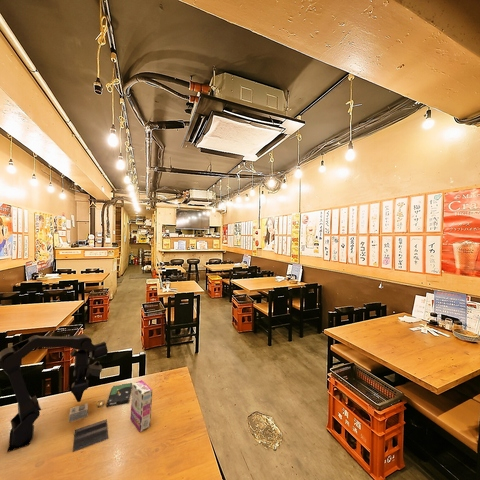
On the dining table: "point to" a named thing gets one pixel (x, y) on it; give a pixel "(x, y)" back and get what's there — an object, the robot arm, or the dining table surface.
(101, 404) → the brass bushing
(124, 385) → the disk drive
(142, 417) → the candy bar box
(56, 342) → the robot arm
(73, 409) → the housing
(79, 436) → the stand
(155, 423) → the dining table surface
